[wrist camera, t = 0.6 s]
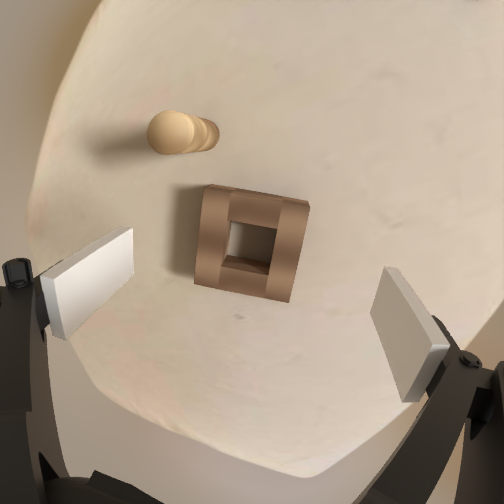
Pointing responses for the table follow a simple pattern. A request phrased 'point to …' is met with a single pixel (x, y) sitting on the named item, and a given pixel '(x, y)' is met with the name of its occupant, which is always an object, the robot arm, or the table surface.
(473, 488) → the robot arm
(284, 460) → the table surface
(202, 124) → the oak peg
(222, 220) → the walnut socket
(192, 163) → the table surface
